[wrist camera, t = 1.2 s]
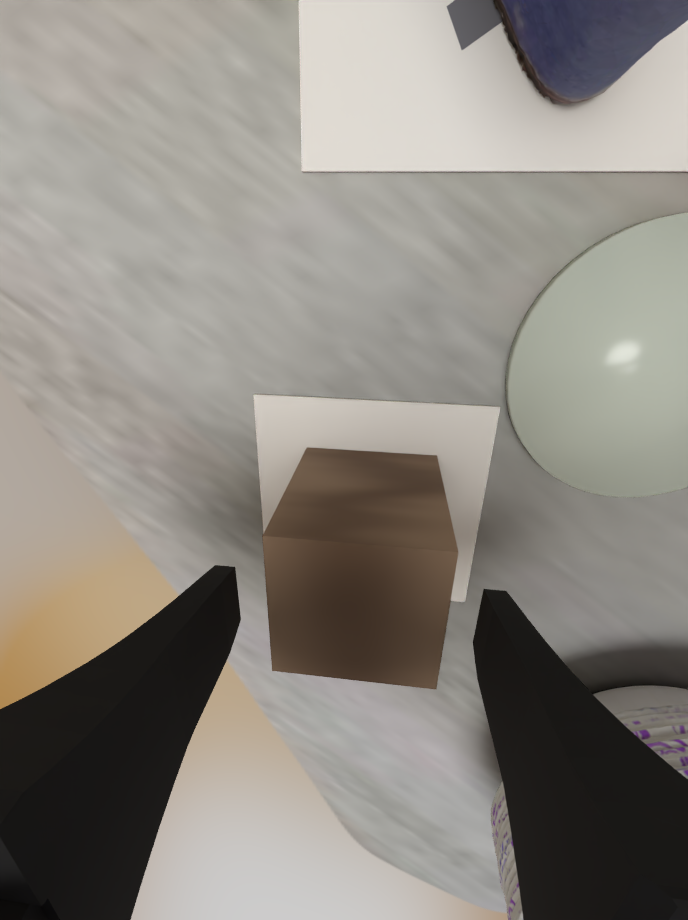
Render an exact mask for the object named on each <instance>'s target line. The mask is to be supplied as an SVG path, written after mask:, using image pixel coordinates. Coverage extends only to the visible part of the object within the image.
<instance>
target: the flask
mask: <svg viewBox="0 0 688 920" xmlns="http://www.w3.org/2000/svg"><path fill="white" fill-rule="evenodd" d="M493 2H494V4H495V9H498V10H499V12H500V14H501V19H502V20H503V23H502V24H503V25H504V26H505V28H504V31H505V32H506V33H507V34H508V40H509V41H510V42H511V44H512V45H513V47H514V48H515V50H516V51H515V53H516V54H517V59H518V61H519V63H520V65H521V66H522V71H525V72H526V73H527V77H528V78H529V79H530V80H532V81H533V83H534V85H535V87H536V89H537V90H539V93H541V94H542V95H543V97H544V98H545V96H546V97H549V98H550V100H551V102H552V103H553V104H571V103H579V102H583V101H587V100H589V99H591V98H593V97H596V96H598V95H600V94H602V93H604V92H605V91H606V90H607V89H608V88H610V87H611V86H612V85H613V84H614V83H615V82H616V81H617V80H619V79H620V78H621V76H623V75H624V74H625V73H626V72H627V71H628V70H629V69H630V68H631V67H632V66H633V65H634V64H635V63H636V62H637V61H638V60H639V59H640V58H642V57H643V56H644V55H645V54H646V53H647V52H649V51H650V50H651V49H652V48H653V47H654V46H655V45H656V44H657V43H658V42H659V41H660V40H662V39H663V38H665V37H666V36H668V35H669V34H670V33H672V32H673V31H675V30H676V29H677V28H679V27H680V26H681V25H682V24H684V23H685V22H686V21H687V20H688V0H494V1H493Z"/></svg>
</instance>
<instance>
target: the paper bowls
mask: <svg viewBox="0 0 688 920" xmlns="http://www.w3.org/2000/svg"><path fill="white" fill-rule="evenodd" d="M593 695H594V696H595V697H596V698H597V699H598V700H599V701H600V702H601V703H602V704H603V705H604V706H605V707H606V708H607V709H608V710H609V711H610V712H611V713H612V714H613V715H614V716H615V717H616V718H617V719H619V720H620V721H621V722H622V723H623V724H624V725H625V726H626V727H627V728H628V729H629V730H630V731H631V732H633V733H634V734H635V735H636V736H637V737H638V738H639V739H640V740H641V741H643V742H644V743H645V744H646V745H647V746H648V747H650V748H651V749H652V750H653V751H654V752H655V753H657V754H658V755H659V756H660V757H661V758H662V759H664V760H665V761H666V762H667V763H668V764H669V765H671V766H672V767H673V768H674V769H676V770H677V771H678V772H679V773H681V774H682V775H683V776H684V777H685V778H687V779H688V689H682V688H677V687H668V686H653V685H649V686H630V687H622V688H615V689H610V690H606V691H601V692H598V693H595V694H593ZM491 824H492V834H493V841H494V845H495V853H496V856H497V860H498V869H499V875H500V883H501V887H502V890H503V892H504V895H505V901H506V905H507V914H508V920H523V913H522V905H521V897H520V890H519V882H518V876H517V869H516V862H515V855H514V848H513V842H512V835H511V828H510V822H509V816H508V810H507V804H506V797H505V791H504V786H503V781H502V782H501V785H500V787H499V789H498V791H497V792H496V795H495V798H494V800H493V804H492V808H491Z"/></svg>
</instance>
